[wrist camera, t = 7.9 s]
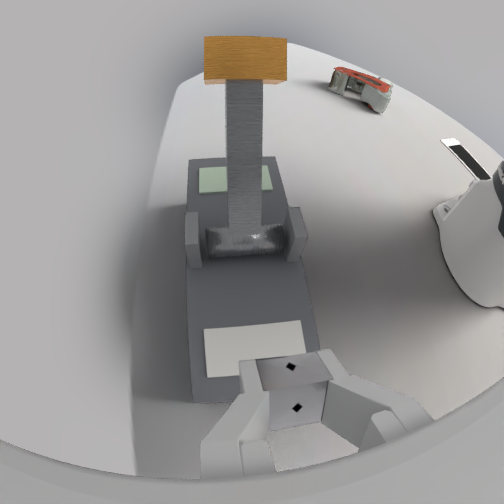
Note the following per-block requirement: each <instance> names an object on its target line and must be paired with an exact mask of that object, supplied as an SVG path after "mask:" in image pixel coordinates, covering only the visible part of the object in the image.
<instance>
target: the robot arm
mask: <svg viewBox="0 0 504 504" xmlns="http://www.w3.org/2000/svg"><path fill="white" fill-rule="evenodd" d="M433 214H434V217H435V219H436V222H437V224H438V226H439V230H440V241H441V247H442V251H443V255H444V258H445V260H446V263H447V265H448V267H449V269H450V271H451V273H452V275H453V277H454V278H455V280H456V282H457V283H458V284H459V286H460V287H461V288H462V290H463V291H464V292H465V293H466V294H467V295H468V296H469V297H470V298H471V299H472V300H473V301H475V302H476V303H478V304H480V305H482V306H484V307H495V306H500V307H502V308H504V161H502V162H501V164H500V165H499V167H498V169H497V170H496V172H495V173H494V174H493V178H492V179H488V180H480V179H479V178H478V177H476V178H475V179H474V180H473V181H472V182H471V183H470V185H469V189H468V190H467V191H466V192H465V193H464V194H463V195H460V196H458V197H456V198H453V199H451V200H449V201H446V202H444V203H441V204H439V205H437V206H436V207H435V208H434V209H433ZM238 365H239V380H240V392H241V394H239V395H238V396H237V398H236V399H235V400H234V402H233V403H232V404H231V405H230V407H229V408H228V409H227V411H226V412H225V413H224V414H223V416H222V417H221V418H220V419H219V421H218V422H217V423H216V424H215V426H214V427H213V428H212V429H211V431H210V432H209V433H208V434H207V435H206V437H205V438H204V439H203V440H202V441H201V443H200V472H201V479H168V478H152V477H141V476H132V475H124V474H117V473H111V472H105V471H99V470H94V469H89V468H85V467H80V466H77V465H72V464H69V463H65V462H61V461H58V460H54V459H51V458H48V457H44V456H41V455H38V454H35V453H33V452H30V451H27V450H25V449H22V448H19V447H17V446H14V445H12V444H9V443H7V442H5V441H2V440H0V504H504V377H503V378H502V379H501V380H499V381H498V382H496V383H495V384H494V385H492V386H491V387H489V388H488V389H487V390H485V391H484V392H482V393H481V394H479V395H478V396H476V397H474V398H473V399H471V400H470V401H468V402H467V403H465V404H463V405H462V406H460V407H458V408H457V409H455V410H453V411H451V412H450V413H448V414H446V415H444V416H442V417H440V418H439V419H437V420H435V421H434V420H433V418H432V417H431V416H430V415H429V414H428V413H427V411H426V410H425V409H424V408H423V407H422V406H421V405H420V403H419V402H418V401H417V400H416V399H415V398H413V397H410V396H408V395H405V394H402V393H399V392H396V391H394V390H391V389H388V388H386V387H383V386H380V385H378V384H375V383H373V382H370V381H368V380H365V379H363V378H360V377H358V376H355V375H351V376H349V374H348V373H347V372H346V370H345V369H344V367H343V366H342V365H341V363H340V362H339V360H338V359H337V358H336V356H335V355H334V353H333V352H332V351H331V349H329V348H328V349H323V350H318V351H314V352H310V353H304V354H297V355H291V356H281V357H271V358H261V359H255V360H254V359H250V360H239V363H238ZM317 422H321V423H322V424H324V425H325V426H327V427H328V428H330V429H331V430H332V431H334V432H335V433H337V434H338V435H340V436H341V437H343V438H344V439H346V440H347V441H349V442H351V443H352V444H354V445H355V446H357V447H358V448H359V450H358V453H355V454H352V455H349V456H346V457H342V458H339V459H335V460H332V461H328V462H324V463H320V464H316V465H312V466H307V467H303V468H298V469H293V470H287V471H282V472H276V470H275V466H274V462H273V459H272V455H271V451H270V448H269V444H268V442H266V441H265V440H266V438H267V436H268V434H269V431H274V430H279V429H285V428H290V427H295V426H301V425H306V424H312V423H317Z"/></svg>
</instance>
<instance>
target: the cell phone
mask: <svg viewBox="0 0 504 504" xmlns="http://www.w3.org/2000/svg"><path fill="white" fill-rule="evenodd" d="M441 142H442V143H443V144H444V145H445V146H446V147H447V148H448V149H449V150H450V151H451V152H452V153H453V154H454V155H455V156H456V157H457V158H458V159H459V160H460V162H461V163H462V164H463V165H464V166H465V167H466V168H467V169H468V170H469V171H470V173H471V174H472V175H473V176H474V177H475V178H476V177H478V178H479V179H480V180H488V179H492V177H491V176H490V175H489V174H488V173H487V172H486V170H485V169H484V168H483V167H482V166H481V165H480V164H479V163H478V161H477V160H476V159H475V158H474V157H473V156H472V155H471V154H470V153H469V152H468V151H467V150H466V149H465V148H464V147H463V146H462V145H461V144H460V143H459V142H458V141H457V140H456V139H455V138H452V139H443V140H441Z"/></svg>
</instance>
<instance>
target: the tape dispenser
mask: <svg viewBox="0 0 504 504" xmlns="http://www.w3.org/2000/svg"><path fill="white" fill-rule="evenodd" d="M334 69H335V71H334V72H333V75H332V78H331V82H330V84H329V87H328V88H327V89H329V90H331V91H333V92H335V93H337V94H339V95H343V93H344V91H345V89H346V88H347V86H349V87H352V88H351V90H353V91H355V92H359V93H362V94H361V101H364V102H367V103H369V104H368V107H369V108H371V109H373V110H374V111H376V112H379V113H383V112H384V111H385V109H386V107H387V105H388V103H389V101H390V99H391V98H390V96H391V94H392V91H391V89H392V87H393V84H392V82H391V81H389V80H387V79H385V78H382V77H379V78H378V79H377V78H375V77H373V76H370V75H366V74H363V73H361V72H357V71H354V70H351V69H347V68H344V67H337V68H334Z"/></svg>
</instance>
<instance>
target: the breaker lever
mask: <svg viewBox="0 0 504 504" xmlns="http://www.w3.org/2000/svg"><path fill="white" fill-rule="evenodd" d="M284 81H287V39H284V38H273V37H255V36H209V37H204V82H205V85H206V84H225V128H226V180H227V215H228V226H225V227H208V228H205V239H206V253H207V258H216V257H231V256H247V255H262V254H277V253H283V251H284V242H285V241H284V231H283V227H282V225H281V224H261V200H262V120H263V84H279V83H281V82H284Z"/></svg>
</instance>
